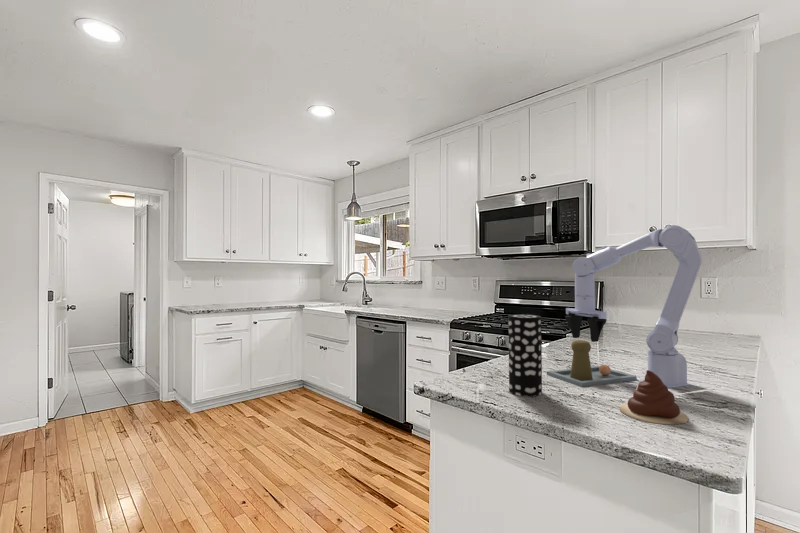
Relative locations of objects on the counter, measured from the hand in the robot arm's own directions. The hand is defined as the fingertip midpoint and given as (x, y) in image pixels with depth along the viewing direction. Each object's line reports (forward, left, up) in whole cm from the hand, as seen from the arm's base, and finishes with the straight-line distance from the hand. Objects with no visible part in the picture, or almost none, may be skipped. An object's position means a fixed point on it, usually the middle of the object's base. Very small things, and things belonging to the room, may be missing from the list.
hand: (585, 339), depth 129 cm
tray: (+4, +6, -10) cm, 13 cm away
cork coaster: (+14, +34, -10) cm, 38 cm away
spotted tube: (+30, +10, -11) cm, 33 cm away
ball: (-1, +6, -10) cm, 12 cm away
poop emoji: (+14, +34, -10) cm, 38 cm away
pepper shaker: (+8, +6, -10) cm, 14 cm away
